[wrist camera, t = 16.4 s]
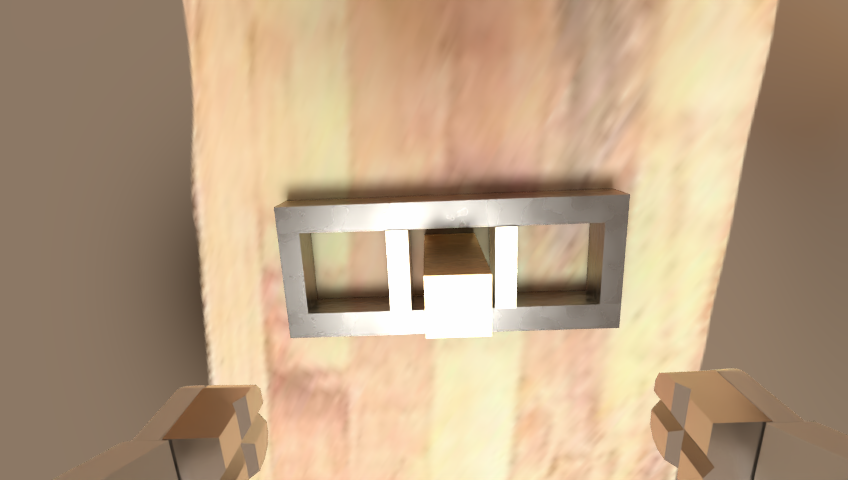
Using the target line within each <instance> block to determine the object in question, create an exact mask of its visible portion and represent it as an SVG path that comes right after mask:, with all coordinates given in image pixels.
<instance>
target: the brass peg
mask: <svg viewBox="0 0 848 480" xmlns="http://www.w3.org/2000/svg"><path fill="white" fill-rule="evenodd" d="M424 298H425V322H426V338H456V337H487V336H492V272H491V270H490V268H489V266H488V263H487V261H486V259H485V256H484V254H483V252H482V249H481V247H480V245H479V243H478V240H477V238H476V236H475V233H461V234H433V235H425V240H424Z"/></svg>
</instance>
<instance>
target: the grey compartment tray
mask: <svg viewBox="0 0 848 480" xmlns="http://www.w3.org/2000/svg"><path fill="white" fill-rule="evenodd" d="M629 199H630V194H627V193H624V192H621V191H619V190H616V189H586V190H559V191H532V192H505V193H478V194H451V195H424V196H397V197H370V198H343V199H315V200H288V201H285V202H283V203H281V204H279V205H278V206H276V207H274V212H275V219H276V227H277V235H278V243H279V251H280V259H281V267H282V274H283V282H284V290H285V298H286V306H287V314H288V322H289V329H290V337H291V338H307V337H339V336H371V335H403V334H426V322H425V298H424V295H421V296H413V289H412V268H411V247H410V229H438V228H466V227H490V270H491V272H492V332H499V331H530V330H562V329H594V328H619V322H620V310H621V298H622V285H623V273H624V261H625V248H626V236H627V224H628V211H629ZM578 223H590V233H589V250H588V267H587V284H586V290H573V291H543V292H517V236H518V226H522V225H550V224H578ZM382 230H386V247H387V263H388V279H389V295H390V297H361V298H330V299H318V298H317V288H316V279H315V270H314V261H313V251H312V242H311V233H325V232H354V231H382Z"/></svg>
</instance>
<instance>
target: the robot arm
mask: <svg viewBox="0 0 848 480" xmlns="http://www.w3.org/2000/svg"><path fill="white" fill-rule="evenodd" d="M654 391H655V393H656V394H657V396H658V397H659V398H660V401H659V402H658V403H657V404H656V405H655V406H654V407H653V409H652V410H651V422H650V425H651V430H652V436H653V440H654V442H655V444H656V447H657V449H658V451H659V452H660V454H661V455H662V457H663V458H664V459H665V460H666V461H668V462H669V463H671V464H673V465H674V466H676V467H677V468H678V474H677V479H678V480H848V435H846V434H844V433H841V432H839V431H836V430H834V429H832V428H829V427H827V426H824V425H822V424H819V423H817V422H814V421H804V420H803V419H802V418H800V417H799V416H798V415H797V414H796V413H794V412H793V411H792V410H791V409H789V408H788V407H787V406H786V405H784V404H783V403H782V402H781V401H780V400H778V399H777V398H776V397H775V396H773V395H772V394H771V393H770V392H769V391H767V390H766V389H765V388H764V387H762V386H761V385H760V384H759V383H758V382H757V381H755V380H754V379H753V378H752V377H750V376H749V375H748V374H747V373H745V372H744V371H741V370H739V369H736V368H734V369H717V370H709V371H688V372H667V373H659V374H658V376H657V378H656V380H655V387H654ZM262 404H263V399H262V395H261V390H260V388H259V387H258V386H257V385H209V386H206V385H202V386H184V387H181V388H179V389H178V390H177V391H176V392H175V393H174V394H173V395H172V397H171V398H170V399H169V400H168V401H167V402H166V403H165V404H164V405H163V407H162V408H161V409H160V410H159V411H158V412H157V413H156V414H155V415H154V417H153V418H152V419H151V420H150V421H149V422H148V423H147V425H146V426H145V427H144V428H143V429H142V430H141V431H140V432H139V433H138V435H137V436H136V437H135V438H134V439H133V440H132V441H124V442H121V443H119V444H118V445H116V446H114V447H112V448H110V449H108V450H106V451H105V452H103V453H101V454H99V455H97V456H95V457H94V458H91V459H90V460H88V461H86V462H84V463H82V464H80V465H78V466H77V467H75V468H73V469H71V470H69V471H67V472H65V473H64V474H62V475H60V476H58V477H56V478H54V479H52V480H249V479H250V478H251V477H252V476H253V475H255V474H256V473H257V472H259V471H260V469H261V466H262V464H263V462H264V460H265V456H266V451H267V446H268V428H267V422H266V420H265V419H264V418H263V417H262V416H261V415H260V414H259V413H258V411H259V410H260V408H261V406H262Z"/></svg>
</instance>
